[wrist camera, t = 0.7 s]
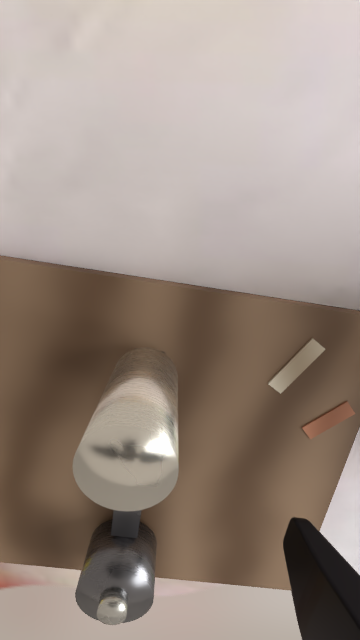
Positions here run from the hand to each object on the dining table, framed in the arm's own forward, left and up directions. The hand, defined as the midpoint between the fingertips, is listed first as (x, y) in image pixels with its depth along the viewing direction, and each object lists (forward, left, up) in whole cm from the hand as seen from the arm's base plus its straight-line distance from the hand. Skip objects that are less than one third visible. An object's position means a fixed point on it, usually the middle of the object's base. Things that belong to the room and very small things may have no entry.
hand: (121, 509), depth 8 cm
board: (-1, +6, -10) cm, 12 cm away
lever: (0, +7, -8) cm, 11 cm away
